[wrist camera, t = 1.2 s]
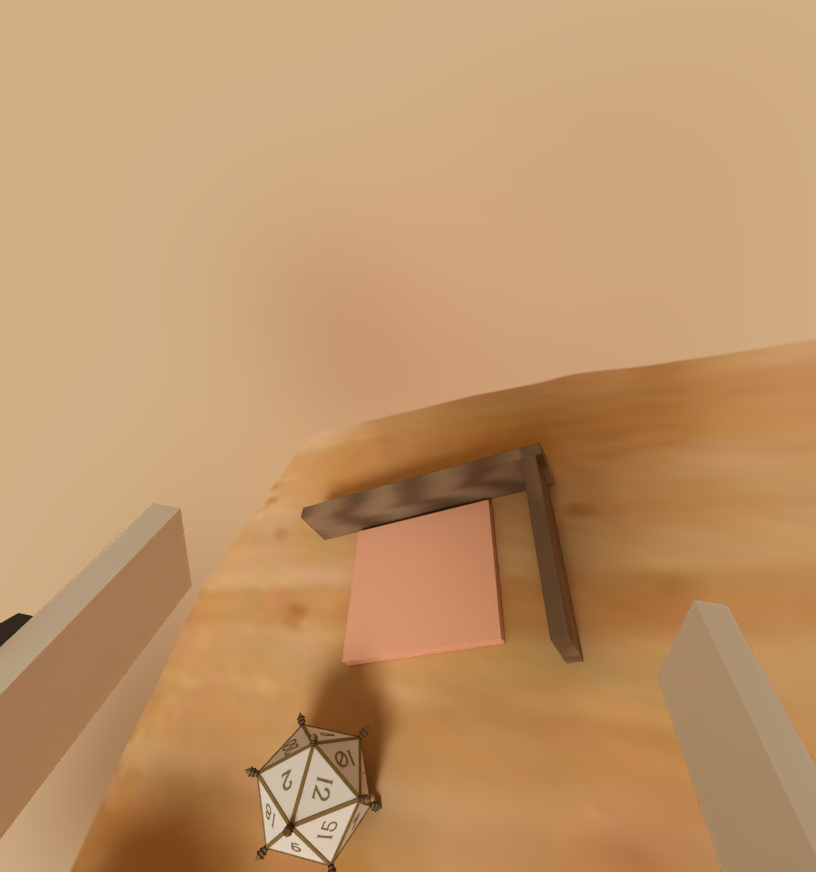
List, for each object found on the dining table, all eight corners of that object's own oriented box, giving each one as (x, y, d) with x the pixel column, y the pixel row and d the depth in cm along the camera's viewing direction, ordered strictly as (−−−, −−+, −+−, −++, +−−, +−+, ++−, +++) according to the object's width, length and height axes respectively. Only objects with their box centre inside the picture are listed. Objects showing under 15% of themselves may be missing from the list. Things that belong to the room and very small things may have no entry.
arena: (552, 473, 47) (539, 442, 44) (592, 659, 35) (578, 635, 32) (326, 530, 55) (303, 507, 52) (296, 696, 43) (264, 679, 40)
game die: (347, 816, 39) (223, 783, 37) (393, 713, 39) (274, 673, 37) (366, 932, 30) (204, 898, 28) (424, 797, 31) (271, 752, 28)
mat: (491, 505, 48) (488, 499, 47) (505, 643, 38) (501, 638, 38) (363, 536, 52) (358, 531, 52) (348, 665, 43) (342, 661, 42)
